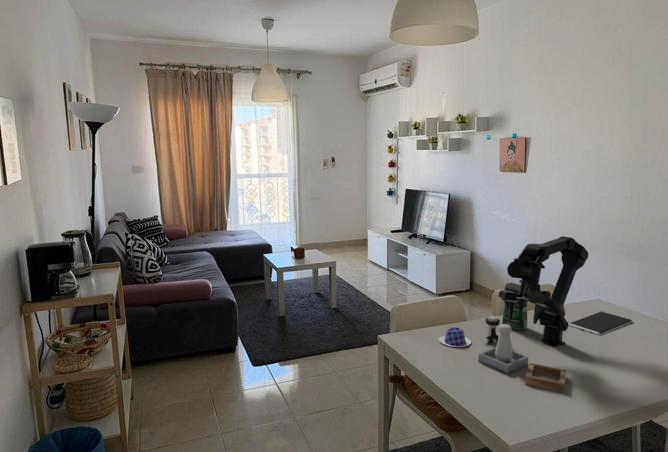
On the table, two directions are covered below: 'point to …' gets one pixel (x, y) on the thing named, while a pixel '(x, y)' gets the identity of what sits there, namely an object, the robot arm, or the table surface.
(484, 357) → the grey tray
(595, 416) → the table surface
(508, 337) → the salt shaker
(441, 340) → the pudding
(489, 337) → the push button
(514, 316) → the coffee jar
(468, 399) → the table surface
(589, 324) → the dark flat slab
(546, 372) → the walnut socket
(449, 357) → the table surface
